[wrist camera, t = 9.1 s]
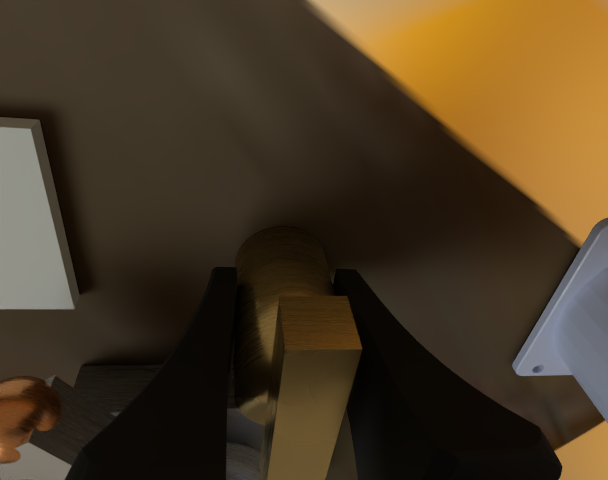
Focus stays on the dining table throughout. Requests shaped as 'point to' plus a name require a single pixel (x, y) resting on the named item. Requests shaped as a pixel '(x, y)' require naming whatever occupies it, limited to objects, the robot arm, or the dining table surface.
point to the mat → (31, 224)
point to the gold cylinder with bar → (292, 352)
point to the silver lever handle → (67, 431)
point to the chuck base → (130, 381)
